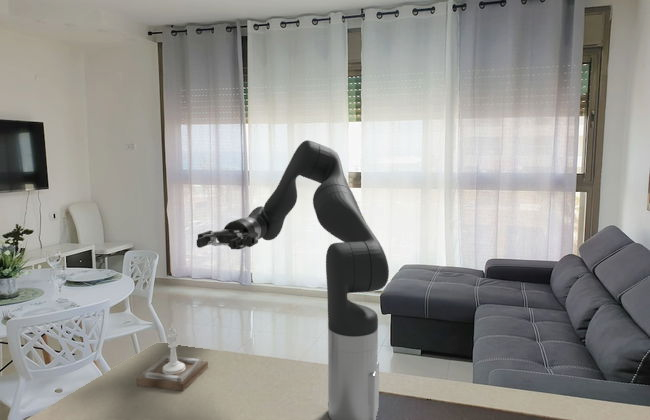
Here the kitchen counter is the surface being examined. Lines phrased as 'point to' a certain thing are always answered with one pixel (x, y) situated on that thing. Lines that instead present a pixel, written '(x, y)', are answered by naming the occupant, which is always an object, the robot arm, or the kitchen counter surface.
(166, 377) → the walnut board
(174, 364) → the chess piece
